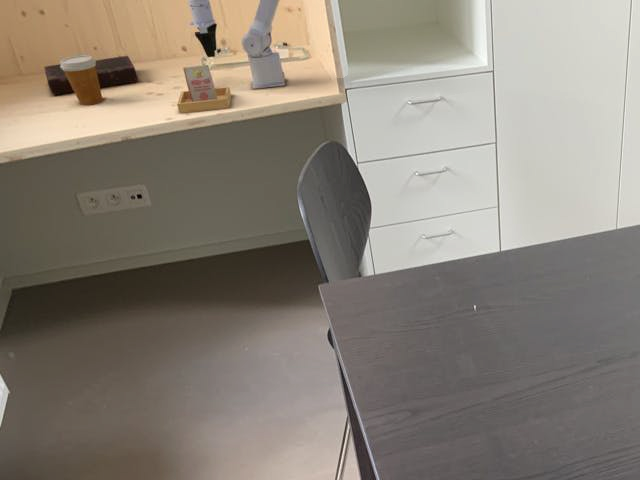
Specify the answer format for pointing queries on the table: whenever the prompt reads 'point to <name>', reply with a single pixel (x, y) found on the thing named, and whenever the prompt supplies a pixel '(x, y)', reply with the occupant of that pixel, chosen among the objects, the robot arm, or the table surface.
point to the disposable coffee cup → (83, 78)
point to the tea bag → (200, 83)
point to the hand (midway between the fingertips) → (212, 53)
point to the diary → (106, 70)
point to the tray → (219, 103)
